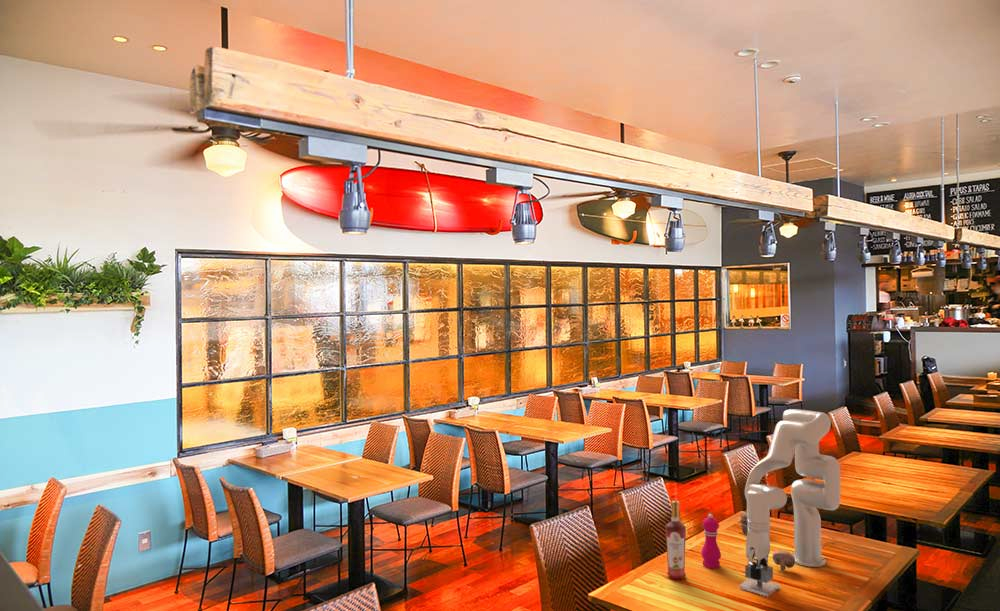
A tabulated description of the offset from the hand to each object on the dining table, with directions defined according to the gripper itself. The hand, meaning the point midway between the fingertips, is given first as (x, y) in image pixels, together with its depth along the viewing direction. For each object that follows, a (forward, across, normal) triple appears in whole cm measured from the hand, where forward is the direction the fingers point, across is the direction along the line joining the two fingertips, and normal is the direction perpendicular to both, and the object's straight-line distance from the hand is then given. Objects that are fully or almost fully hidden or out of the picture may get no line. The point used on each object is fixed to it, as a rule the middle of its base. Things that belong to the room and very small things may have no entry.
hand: (759, 575), depth 227 cm
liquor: (+5, +12, -26) cm, 29 cm away
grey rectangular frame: (+1, 0, 0) cm, 1 cm away
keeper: (+4, 0, 0) cm, 4 cm away
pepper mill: (+5, -7, -22) cm, 24 cm away
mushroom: (+5, -21, 0) cm, 22 cm away
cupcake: (+5, -52, -26) cm, 58 cm away
